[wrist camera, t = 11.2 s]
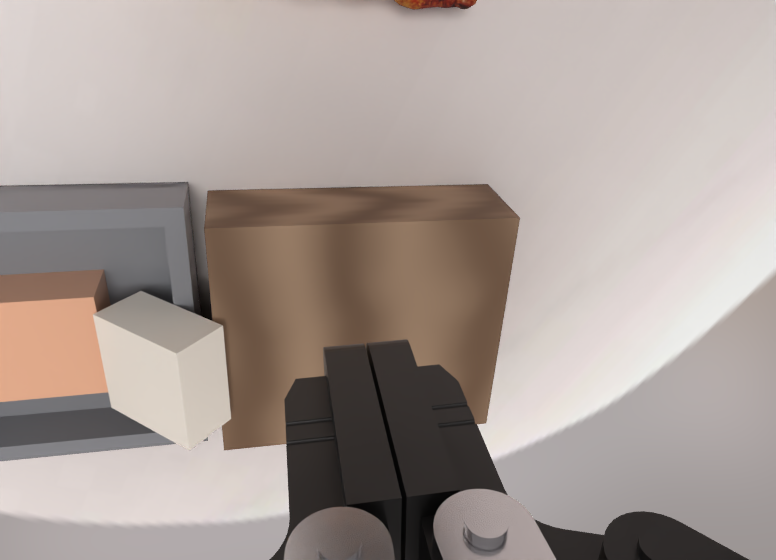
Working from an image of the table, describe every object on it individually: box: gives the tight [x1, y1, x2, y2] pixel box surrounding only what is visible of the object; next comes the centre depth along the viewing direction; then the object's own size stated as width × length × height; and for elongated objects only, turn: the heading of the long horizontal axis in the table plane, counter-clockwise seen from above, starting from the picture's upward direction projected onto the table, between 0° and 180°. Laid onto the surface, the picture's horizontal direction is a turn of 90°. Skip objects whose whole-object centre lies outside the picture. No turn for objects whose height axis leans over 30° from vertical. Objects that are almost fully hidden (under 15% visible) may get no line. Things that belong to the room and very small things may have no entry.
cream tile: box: [93, 291, 231, 451], centre depth 34 cm, size 6×6×3 cm
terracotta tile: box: [0, 269, 111, 402], centre depth 34 cm, size 6×6×3 cm
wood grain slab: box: [204, 184, 520, 450], centre depth 38 cm, size 16×14×5 cm
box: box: [0, 182, 208, 461], centre depth 35 cm, size 14×15×4 cm
